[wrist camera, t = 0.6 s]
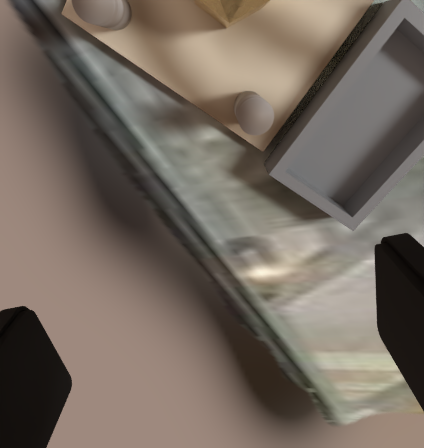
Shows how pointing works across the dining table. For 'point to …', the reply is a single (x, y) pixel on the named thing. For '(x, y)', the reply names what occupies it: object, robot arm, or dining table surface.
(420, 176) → the dining table surface
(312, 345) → the dining table surface
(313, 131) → the tray
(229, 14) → the tan faceted piece
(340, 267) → the dining table surface
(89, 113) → the dining table surface
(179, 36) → the spacer board
